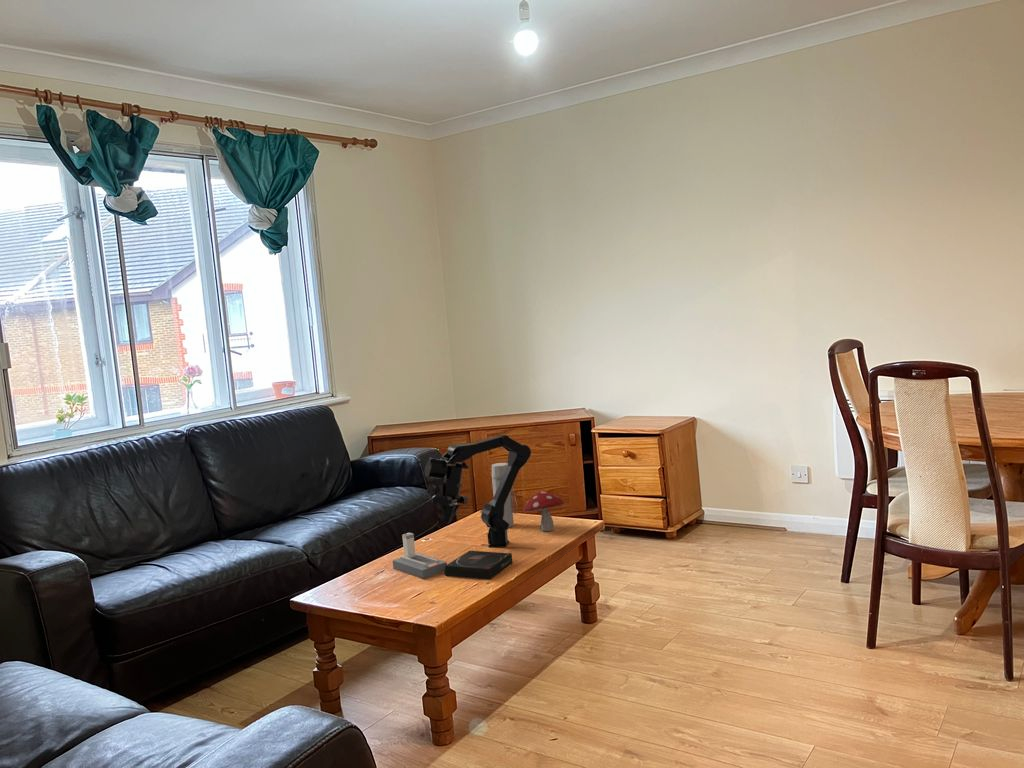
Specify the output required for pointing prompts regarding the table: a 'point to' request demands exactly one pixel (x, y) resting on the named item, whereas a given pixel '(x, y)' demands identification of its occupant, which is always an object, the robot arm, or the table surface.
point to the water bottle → (497, 475)
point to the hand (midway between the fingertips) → (446, 523)
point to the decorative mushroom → (544, 508)
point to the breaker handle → (408, 545)
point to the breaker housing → (419, 565)
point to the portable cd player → (478, 565)
